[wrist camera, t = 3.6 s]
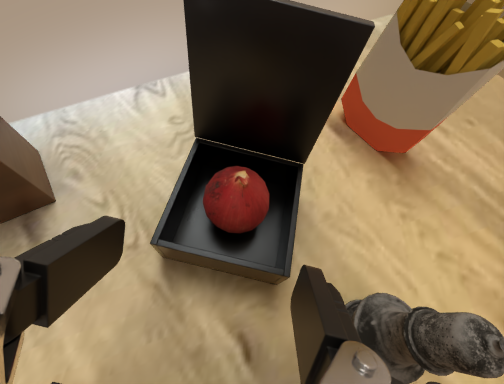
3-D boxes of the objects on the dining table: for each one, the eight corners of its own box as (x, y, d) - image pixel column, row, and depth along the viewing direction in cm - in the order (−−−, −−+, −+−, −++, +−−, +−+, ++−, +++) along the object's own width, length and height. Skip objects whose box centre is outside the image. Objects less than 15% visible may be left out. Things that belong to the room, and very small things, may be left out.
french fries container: (390, 165, 30) (573, 4, 15) (331, 113, 34) (429, -63, 18) (408, 151, 32) (590, -8, 16) (351, 103, 36) (456, -67, 20)
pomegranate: (200, 240, 22) (192, 204, 15) (210, 188, 25) (206, 138, 18) (260, 246, 23) (279, 214, 16) (263, 194, 25) (280, 147, 18)
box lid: (375, 26, 13) (373, 21, 13) (181, -24, 13) (185, -27, 13) (304, 164, 22) (305, 159, 23) (194, 136, 22) (196, 132, 23)
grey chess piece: (410, 340, 21) (605, 364, 10) (369, 392, 19) (564, 488, 8) (362, 283, 23) (485, 253, 12) (320, 323, 20) (426, 330, 10)
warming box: (276, 284, 22) (289, 277, 18) (162, 256, 21) (149, 243, 18) (291, 186, 27) (303, 164, 23) (199, 163, 27) (196, 137, 23)
